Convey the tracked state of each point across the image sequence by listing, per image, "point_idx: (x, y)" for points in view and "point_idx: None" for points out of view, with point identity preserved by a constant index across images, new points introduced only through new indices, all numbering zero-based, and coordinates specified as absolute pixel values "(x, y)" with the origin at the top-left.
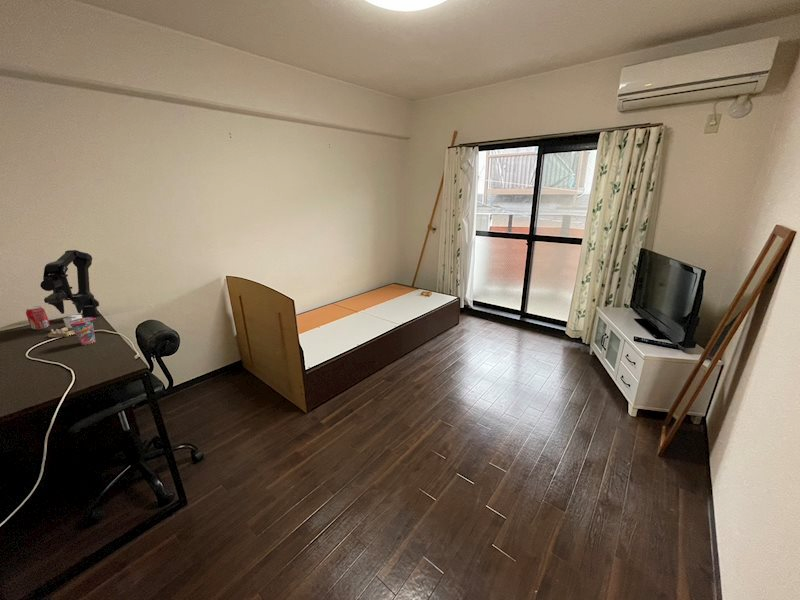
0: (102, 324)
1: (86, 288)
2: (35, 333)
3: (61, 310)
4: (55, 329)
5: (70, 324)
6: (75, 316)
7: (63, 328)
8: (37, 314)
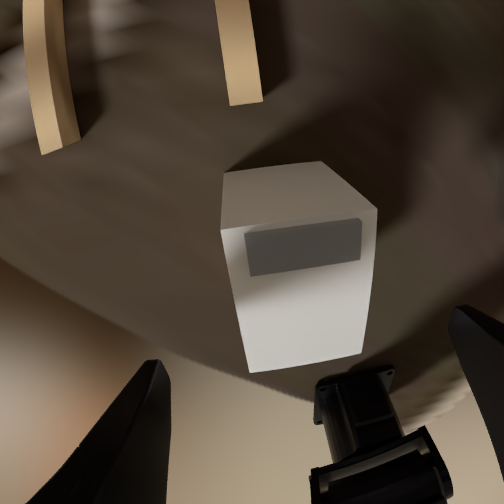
0: (57, 288)
1: None
2: (482, 53)
3: (486, 350)
4: None
5: None
6: (246, 310)
7: (229, 58)
8: None
